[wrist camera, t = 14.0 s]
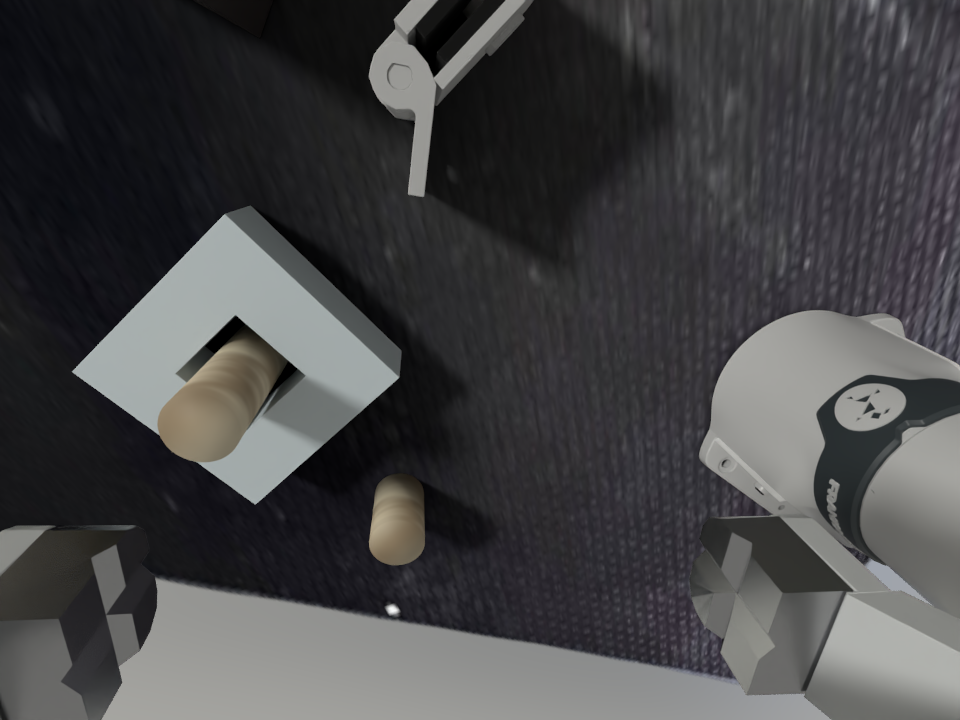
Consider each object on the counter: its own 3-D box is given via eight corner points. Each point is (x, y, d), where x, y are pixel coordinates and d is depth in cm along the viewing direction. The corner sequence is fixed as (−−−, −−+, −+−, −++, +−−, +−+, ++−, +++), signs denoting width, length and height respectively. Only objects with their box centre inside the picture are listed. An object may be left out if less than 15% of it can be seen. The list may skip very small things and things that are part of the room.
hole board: (401, 350, 39) (399, 377, 35) (273, 465, 42) (255, 504, 37) (250, 205, 35) (224, 214, 30) (115, 344, 37) (71, 371, 32)
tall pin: (303, 348, 39) (257, 429, 28) (265, 383, 39) (206, 475, 28) (259, 310, 37) (192, 378, 26) (221, 346, 38) (140, 428, 27)
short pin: (433, 493, 44) (436, 542, 39) (399, 521, 45) (396, 573, 40) (400, 464, 43) (397, 511, 38) (365, 494, 44) (357, 544, 38)
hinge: (420, 189, 36) (420, 203, 26) (349, 141, 34) (321, 137, 25) (541, -12, 32) (590, -78, 23) (467, -76, 31) (487, -175, 21)
